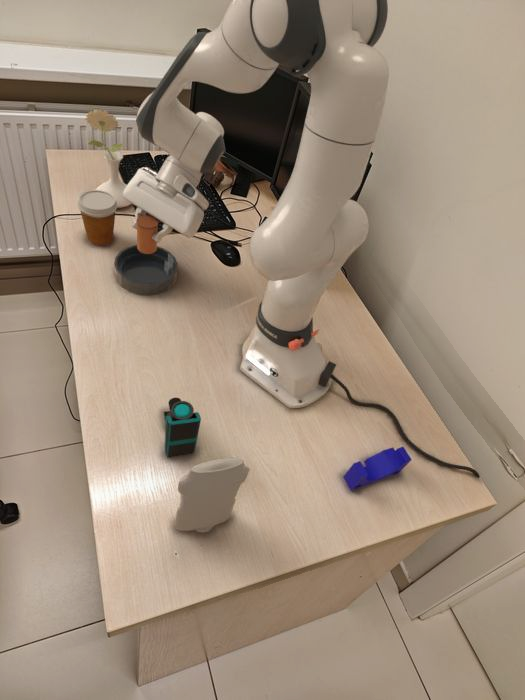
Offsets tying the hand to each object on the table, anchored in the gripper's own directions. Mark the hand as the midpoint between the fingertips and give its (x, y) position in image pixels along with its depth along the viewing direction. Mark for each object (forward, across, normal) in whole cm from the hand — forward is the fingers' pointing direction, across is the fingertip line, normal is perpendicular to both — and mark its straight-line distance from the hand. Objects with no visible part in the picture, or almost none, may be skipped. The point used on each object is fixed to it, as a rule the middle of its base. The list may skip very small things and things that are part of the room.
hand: (145, 235), depth 107 cm
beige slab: (+37, +50, -18) cm, 65 cm away
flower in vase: (-4, -30, +22) cm, 37 cm away
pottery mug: (-26, -16, +45) cm, 55 cm away
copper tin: (+2, 0, +3) cm, 4 cm away
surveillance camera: (+30, +36, -11) cm, 47 cm away
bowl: (+9, 0, +10) cm, 13 cm away
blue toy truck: (+17, +70, +3) cm, 73 cm away
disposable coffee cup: (+8, -18, +11) cm, 23 cm away
